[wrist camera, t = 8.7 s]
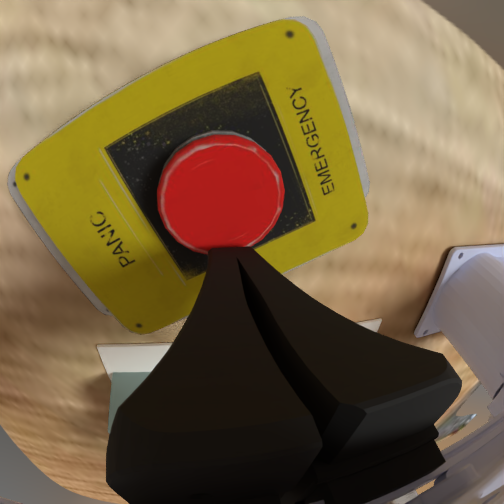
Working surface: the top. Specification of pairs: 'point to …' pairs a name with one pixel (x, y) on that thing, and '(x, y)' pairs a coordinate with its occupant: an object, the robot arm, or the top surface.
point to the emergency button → (200, 172)
